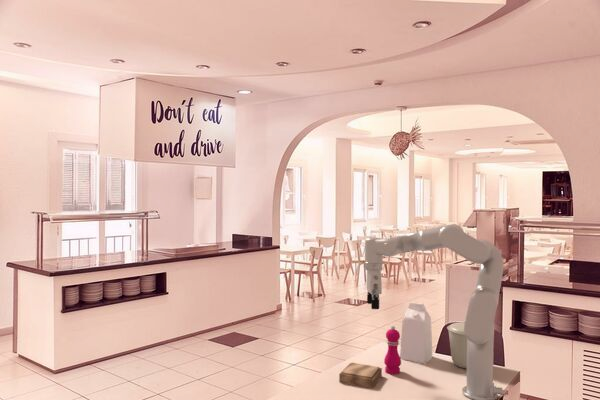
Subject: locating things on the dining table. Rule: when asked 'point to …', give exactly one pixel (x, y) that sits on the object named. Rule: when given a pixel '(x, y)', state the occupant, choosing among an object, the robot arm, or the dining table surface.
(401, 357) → the milk
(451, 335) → the canister
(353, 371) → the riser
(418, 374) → the dining table surface
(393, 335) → the pepper mill
